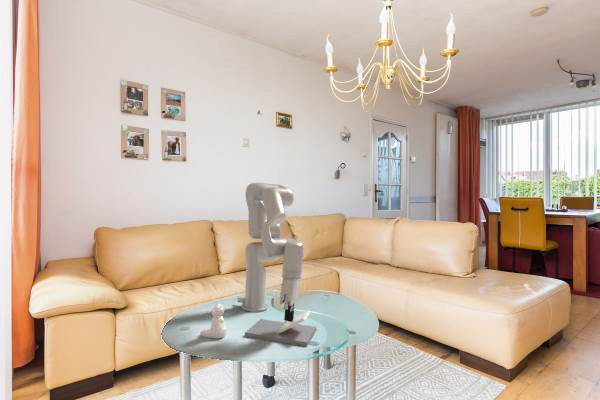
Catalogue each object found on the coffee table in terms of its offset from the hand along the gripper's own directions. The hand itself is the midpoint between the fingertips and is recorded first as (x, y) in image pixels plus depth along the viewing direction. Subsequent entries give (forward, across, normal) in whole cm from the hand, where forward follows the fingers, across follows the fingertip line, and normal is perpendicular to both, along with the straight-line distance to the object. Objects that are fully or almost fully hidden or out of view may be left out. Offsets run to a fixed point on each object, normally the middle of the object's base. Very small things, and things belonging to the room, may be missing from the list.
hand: (288, 320), depth 128 cm
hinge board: (+5, +1, -2) cm, 6 cm away
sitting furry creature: (+6, +13, -24) cm, 28 cm away
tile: (-1, 0, +2) cm, 2 cm away
